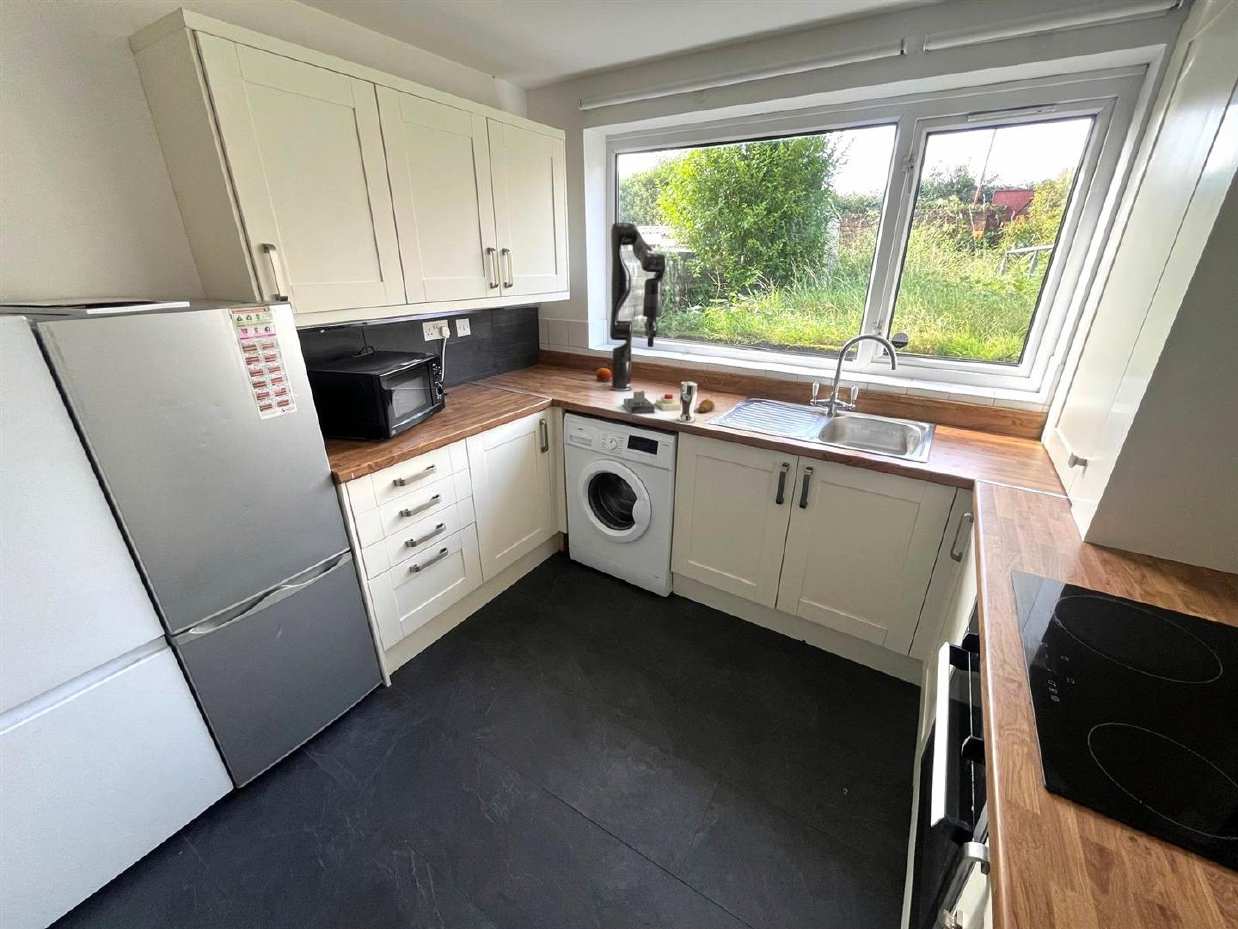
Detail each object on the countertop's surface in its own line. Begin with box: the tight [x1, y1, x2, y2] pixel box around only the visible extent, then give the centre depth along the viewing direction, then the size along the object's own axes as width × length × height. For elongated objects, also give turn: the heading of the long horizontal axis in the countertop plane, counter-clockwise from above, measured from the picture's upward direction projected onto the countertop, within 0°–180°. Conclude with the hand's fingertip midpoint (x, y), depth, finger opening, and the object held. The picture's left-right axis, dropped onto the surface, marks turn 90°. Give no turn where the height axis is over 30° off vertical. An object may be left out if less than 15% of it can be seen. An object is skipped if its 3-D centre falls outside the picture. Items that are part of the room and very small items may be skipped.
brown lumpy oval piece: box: [698, 398, 716, 414], centre depth 215 cm, size 14×7×5 cm, turn 151°
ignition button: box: [663, 393, 674, 399], centre depth 218 cm, size 4×4×2 cm
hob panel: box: [623, 397, 655, 415], centre depth 214 cm, size 14×10×3 cm
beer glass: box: [678, 381, 698, 423], centre depth 198 cm, size 7×7×15 cm
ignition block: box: [655, 395, 680, 411], centre depth 219 cm, size 11×8×4 cm
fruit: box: [595, 367, 612, 383], centre depth 265 cm, size 8×8×8 cm
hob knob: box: [632, 390, 646, 403], centre depth 213 cm, size 5×1×5 cm, turn 103°
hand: (650, 346), depth 216 cm, fingers closed
